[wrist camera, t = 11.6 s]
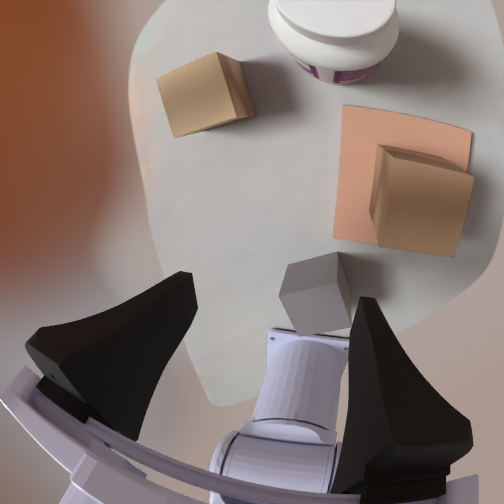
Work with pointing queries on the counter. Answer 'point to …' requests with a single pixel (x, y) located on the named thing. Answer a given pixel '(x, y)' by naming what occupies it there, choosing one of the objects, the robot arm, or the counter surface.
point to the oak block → (205, 94)
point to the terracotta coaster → (364, 156)
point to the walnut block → (418, 201)
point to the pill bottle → (336, 35)
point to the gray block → (317, 295)
